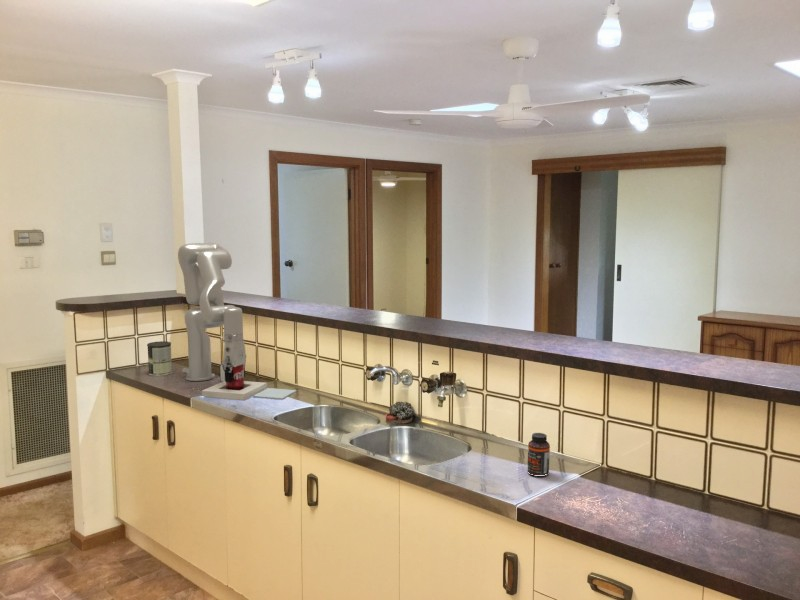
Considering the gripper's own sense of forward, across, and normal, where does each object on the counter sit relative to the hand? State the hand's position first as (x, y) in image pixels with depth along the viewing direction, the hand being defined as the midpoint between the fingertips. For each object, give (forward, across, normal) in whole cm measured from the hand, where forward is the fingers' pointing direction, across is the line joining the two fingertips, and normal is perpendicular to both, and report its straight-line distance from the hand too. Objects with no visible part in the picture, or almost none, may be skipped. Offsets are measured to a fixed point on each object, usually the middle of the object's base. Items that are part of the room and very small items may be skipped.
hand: (235, 379), depth 276 cm
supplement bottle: (+7, -55, -127) cm, 138 cm away
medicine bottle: (+6, +18, +12) cm, 23 cm away
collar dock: (+6, 0, 0) cm, 6 cm away
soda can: (+6, 0, 0) cm, 6 cm away
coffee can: (+5, +21, +51) cm, 56 cm away
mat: (+6, +2, -17) cm, 18 cm away
